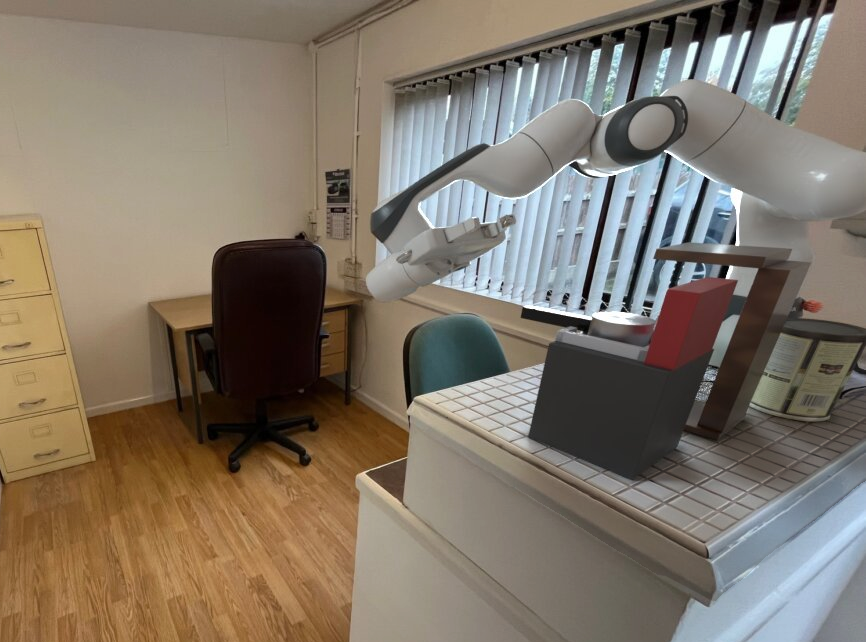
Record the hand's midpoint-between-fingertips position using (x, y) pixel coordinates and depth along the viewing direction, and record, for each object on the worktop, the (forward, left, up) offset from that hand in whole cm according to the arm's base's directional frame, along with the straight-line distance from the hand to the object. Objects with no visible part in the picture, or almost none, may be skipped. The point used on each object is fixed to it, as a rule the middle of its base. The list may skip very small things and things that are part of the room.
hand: (495, 219), depth 73 cm
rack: (-32, +2, -30) cm, 44 cm away
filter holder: (-12, +11, -15) cm, 22 cm away
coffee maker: (-17, +15, -30) cm, 38 cm away
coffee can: (-50, -4, -30) cm, 58 cm away
